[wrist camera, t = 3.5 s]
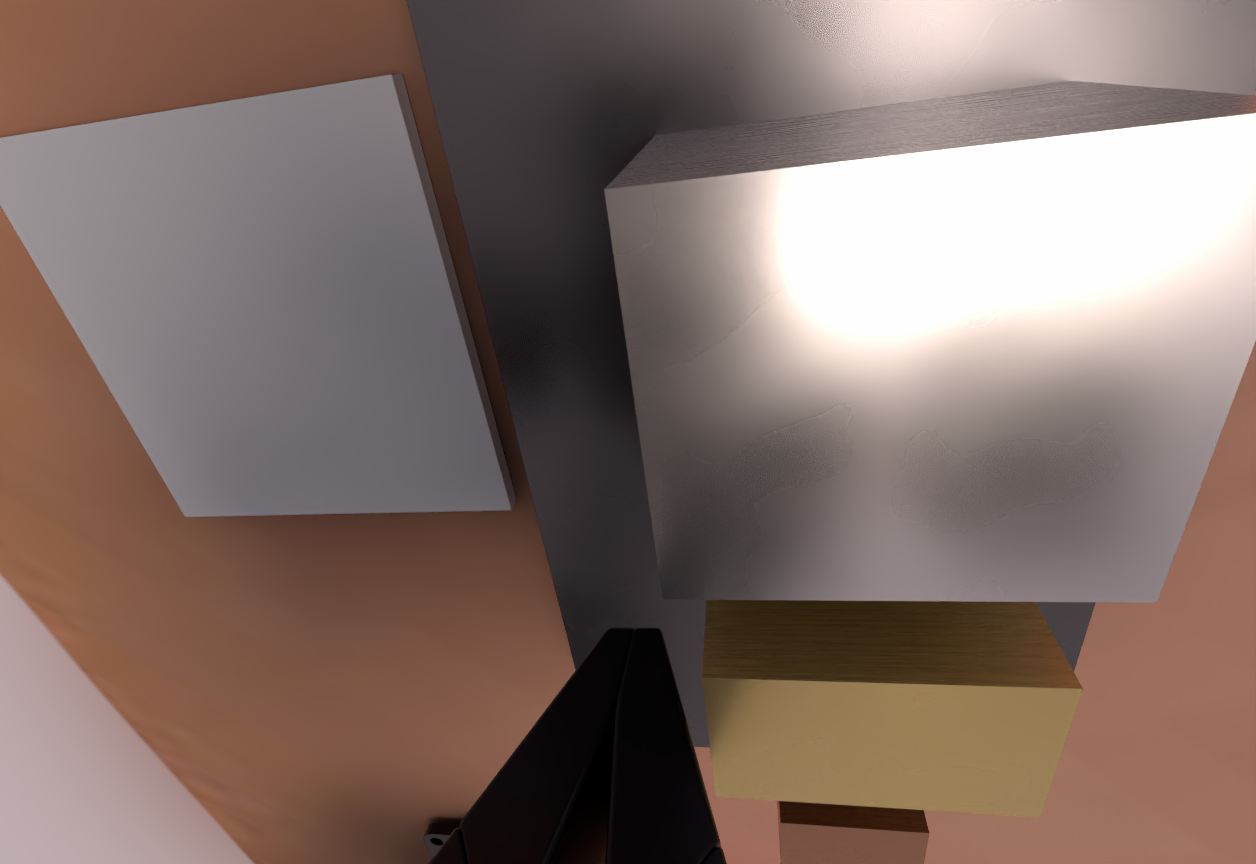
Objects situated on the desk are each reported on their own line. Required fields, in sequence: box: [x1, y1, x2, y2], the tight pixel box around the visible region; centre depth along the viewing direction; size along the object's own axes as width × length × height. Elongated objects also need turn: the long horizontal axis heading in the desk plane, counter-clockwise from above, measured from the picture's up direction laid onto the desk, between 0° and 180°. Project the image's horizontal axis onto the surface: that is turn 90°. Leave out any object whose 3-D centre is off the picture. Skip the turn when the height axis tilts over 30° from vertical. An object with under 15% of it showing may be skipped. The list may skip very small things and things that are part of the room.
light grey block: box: [604, 81, 1256, 603], centre depth 7 cm, size 4×5×4 cm
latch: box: [702, 600, 1083, 818], centre depth 9 cm, size 2×4×4 cm, turn 98°
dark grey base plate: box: [407, 0, 1256, 864], centre depth 10 cm, size 18×10×6 cm, turn 8°
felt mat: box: [0, 74, 516, 517], centre depth 14 cm, size 9×9×1 cm
